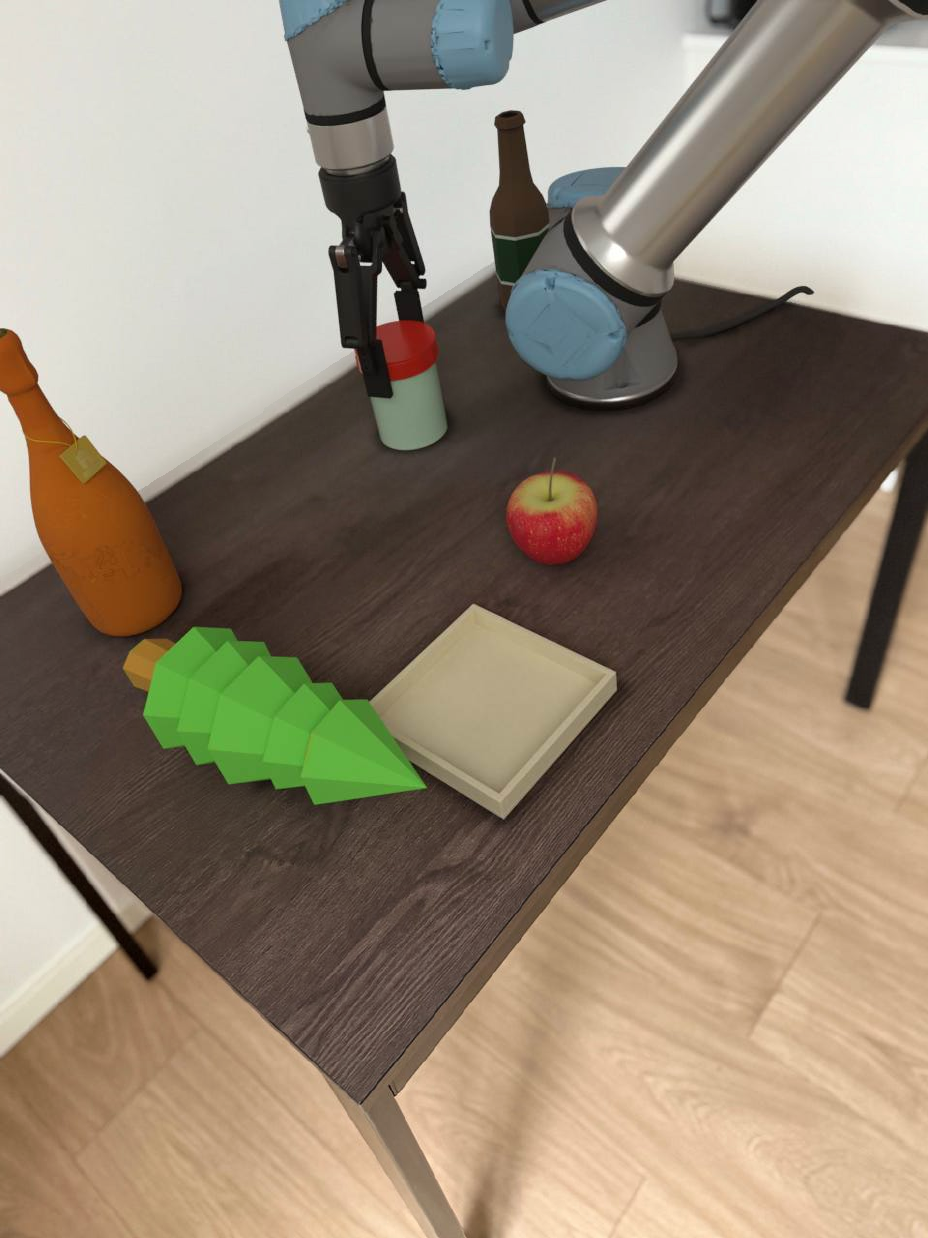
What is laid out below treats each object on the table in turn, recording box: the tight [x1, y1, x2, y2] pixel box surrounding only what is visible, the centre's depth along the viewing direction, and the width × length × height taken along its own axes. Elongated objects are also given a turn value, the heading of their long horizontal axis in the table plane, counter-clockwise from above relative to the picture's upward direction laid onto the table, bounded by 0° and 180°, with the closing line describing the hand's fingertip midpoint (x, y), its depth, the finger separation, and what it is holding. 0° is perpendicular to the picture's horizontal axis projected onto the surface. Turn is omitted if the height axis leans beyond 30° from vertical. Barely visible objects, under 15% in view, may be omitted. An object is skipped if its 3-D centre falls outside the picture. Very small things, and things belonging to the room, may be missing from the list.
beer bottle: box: [489, 109, 549, 314], centre depth 120 cm, size 8×8×24 cm
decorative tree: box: [122, 626, 428, 806], centre depth 74 cm, size 11×12×30 cm
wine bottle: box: [0, 327, 183, 637], centre depth 85 cm, size 10×10×30 cm
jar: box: [369, 361, 448, 451], centre depth 107 cm, size 8×8×11 cm
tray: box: [369, 603, 618, 820], centre depth 78 cm, size 15×15×2 cm
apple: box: [505, 457, 598, 566], centre depth 88 cm, size 8×8×10 cm
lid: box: [353, 320, 440, 381], centre depth 104 cm, size 9×9×2 cm
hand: (399, 370), depth 105 cm, fingers open, 10 cm apart
